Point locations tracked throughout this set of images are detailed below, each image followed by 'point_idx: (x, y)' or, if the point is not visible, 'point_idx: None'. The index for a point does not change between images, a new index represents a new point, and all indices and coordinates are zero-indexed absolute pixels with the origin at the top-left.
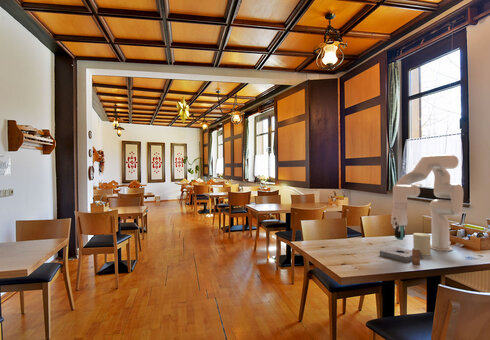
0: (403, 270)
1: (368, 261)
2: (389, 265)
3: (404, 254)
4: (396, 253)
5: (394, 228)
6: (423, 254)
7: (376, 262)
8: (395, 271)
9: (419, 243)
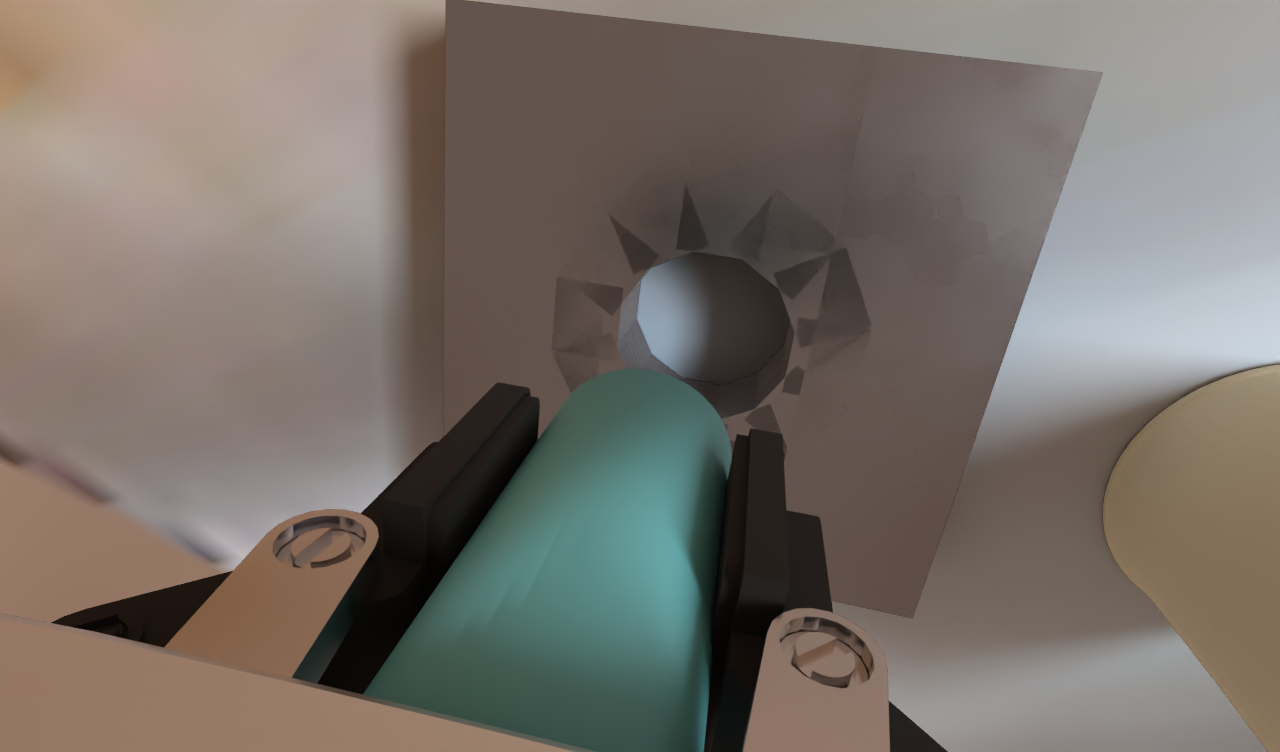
0: (189, 524)
1: (70, 68)
2: (193, 358)
3: None
4: (515, 335)
5: (109, 622)
6: (1116, 554)
7: (140, 179)
8: (91, 477)
9: (1239, 643)
